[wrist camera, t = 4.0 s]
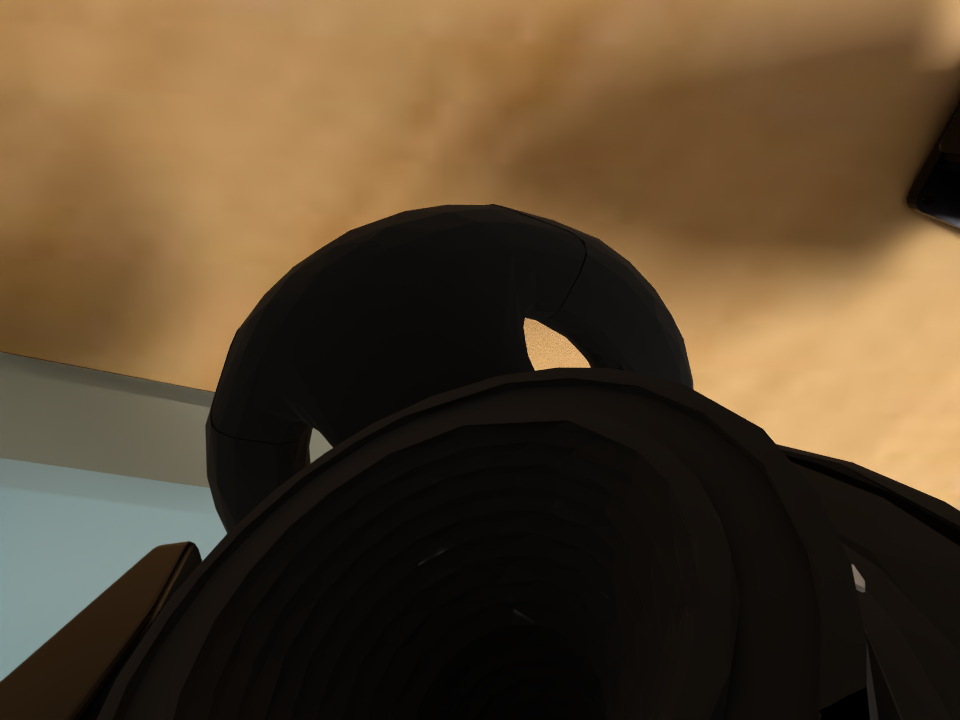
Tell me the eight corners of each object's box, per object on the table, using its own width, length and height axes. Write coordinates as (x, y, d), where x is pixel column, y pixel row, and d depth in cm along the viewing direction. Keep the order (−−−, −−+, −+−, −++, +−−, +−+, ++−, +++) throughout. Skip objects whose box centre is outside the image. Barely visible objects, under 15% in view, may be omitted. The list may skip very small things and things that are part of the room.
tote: (639, 472, 24) (705, 559, 19) (518, 725, 29) (549, 842, 24) (-69, 338, 17) (-220, 425, 13) (-73, 701, 22) (-184, 858, 17)
